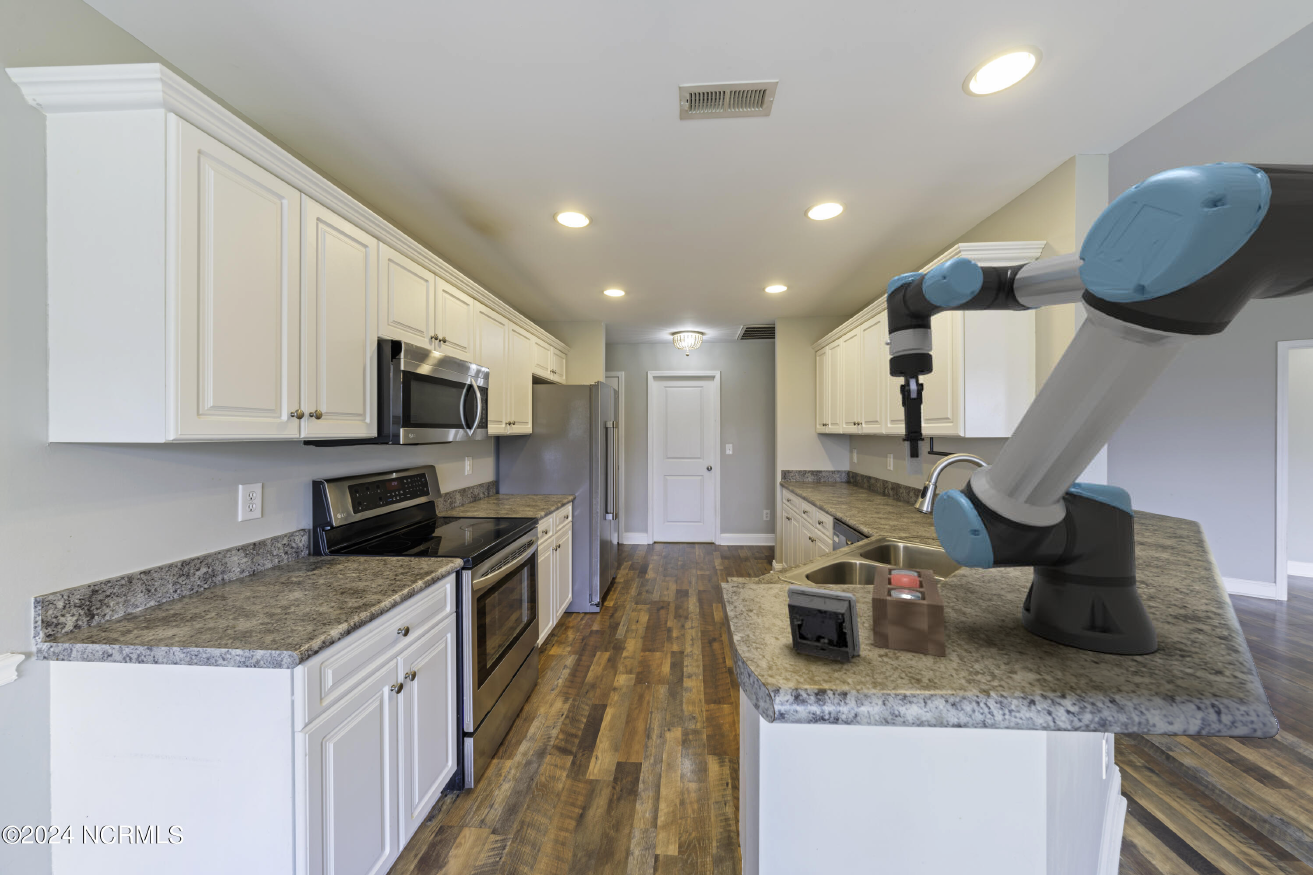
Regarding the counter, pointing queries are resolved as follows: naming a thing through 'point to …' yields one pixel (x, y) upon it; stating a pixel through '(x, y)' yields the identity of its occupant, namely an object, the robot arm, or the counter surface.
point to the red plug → (905, 580)
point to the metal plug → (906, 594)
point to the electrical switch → (823, 622)
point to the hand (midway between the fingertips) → (914, 474)
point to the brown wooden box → (908, 614)
